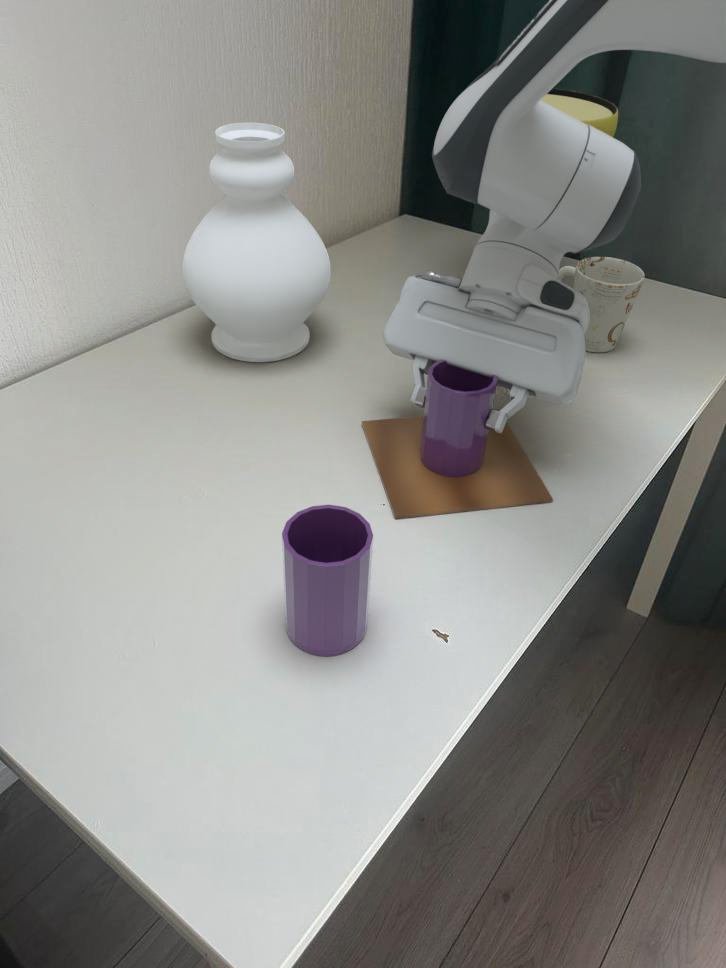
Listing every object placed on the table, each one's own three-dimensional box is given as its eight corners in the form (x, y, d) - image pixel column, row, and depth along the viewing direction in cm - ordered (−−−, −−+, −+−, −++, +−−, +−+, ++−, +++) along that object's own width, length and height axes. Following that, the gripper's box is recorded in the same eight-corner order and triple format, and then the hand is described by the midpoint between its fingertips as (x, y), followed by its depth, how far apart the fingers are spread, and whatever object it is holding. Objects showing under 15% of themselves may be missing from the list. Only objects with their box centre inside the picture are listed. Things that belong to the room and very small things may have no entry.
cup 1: (358, 589, 66) (362, 500, 60) (374, 650, 61) (381, 560, 55) (281, 599, 65) (277, 509, 59) (291, 661, 60) (288, 571, 54)
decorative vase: (224, 298, 108) (208, 104, 92) (346, 318, 105) (351, 120, 89) (166, 359, 95) (135, 144, 79) (303, 384, 91) (300, 165, 75)
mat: (498, 412, 88) (499, 409, 88) (552, 502, 76) (553, 499, 76) (361, 423, 85) (361, 420, 85) (394, 519, 73) (395, 516, 73)
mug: (599, 364, 98) (619, 290, 91) (522, 326, 105) (536, 256, 98) (637, 344, 102) (658, 273, 96) (560, 310, 109) (575, 241, 103)
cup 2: (471, 436, 84) (484, 355, 77) (491, 474, 79) (506, 390, 72) (412, 442, 82) (420, 360, 76) (429, 480, 77) (439, 396, 71)
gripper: (404, 252, 78) (353, 378, 77) (603, 302, 71) (549, 442, 70) (419, 278, 84) (372, 396, 83) (604, 327, 77) (554, 456, 76)
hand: (454, 417), depth 77 cm, fingers closed on cup 2, 7 cm apart
